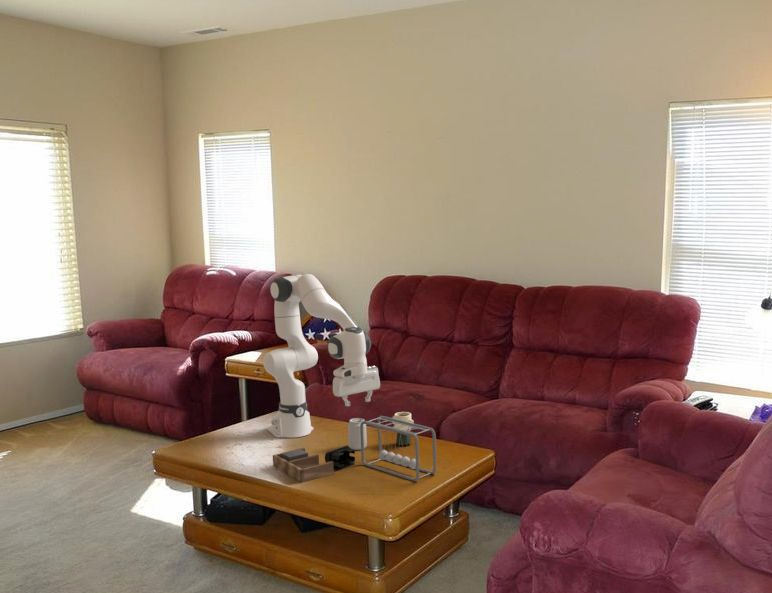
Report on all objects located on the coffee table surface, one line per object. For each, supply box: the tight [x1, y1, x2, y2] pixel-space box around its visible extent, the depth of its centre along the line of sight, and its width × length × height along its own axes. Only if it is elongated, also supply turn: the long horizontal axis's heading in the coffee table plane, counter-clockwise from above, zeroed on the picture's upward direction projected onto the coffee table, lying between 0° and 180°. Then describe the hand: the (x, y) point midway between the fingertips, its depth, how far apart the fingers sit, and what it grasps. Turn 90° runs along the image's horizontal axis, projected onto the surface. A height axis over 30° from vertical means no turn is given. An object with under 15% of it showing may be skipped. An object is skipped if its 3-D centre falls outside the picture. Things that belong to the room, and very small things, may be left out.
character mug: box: [392, 411, 415, 446], centre depth 312 cm, size 11×7×13 cm, turn 51°
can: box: [347, 417, 368, 451], centre depth 310 cm, size 8×8×12 cm
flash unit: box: [281, 448, 309, 461], centre depth 291 cm, size 6×8×6 cm
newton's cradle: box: [360, 415, 437, 482], centre depth 282 cm, size 30×10×18 cm, turn 45°
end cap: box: [324, 445, 356, 472], centre depth 290 cm, size 10×7×7 cm
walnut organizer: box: [272, 447, 335, 483], centre depth 286 cm, size 23×14×4 cm, turn 36°
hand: (357, 403), depth 294 cm, fingers open, 8 cm apart
